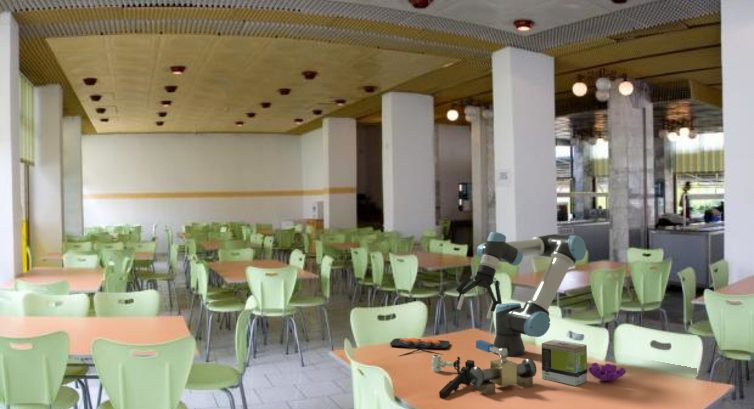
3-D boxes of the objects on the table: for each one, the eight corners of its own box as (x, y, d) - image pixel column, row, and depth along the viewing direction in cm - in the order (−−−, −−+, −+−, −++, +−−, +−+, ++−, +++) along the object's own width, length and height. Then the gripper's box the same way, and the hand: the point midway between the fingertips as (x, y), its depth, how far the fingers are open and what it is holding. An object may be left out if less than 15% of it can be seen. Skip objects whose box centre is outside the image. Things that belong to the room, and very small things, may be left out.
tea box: (587, 381, 238) (587, 344, 237) (575, 387, 231) (575, 348, 230) (553, 373, 248) (553, 338, 248) (540, 378, 241) (540, 342, 241)
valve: (430, 373, 250) (459, 374, 248) (430, 357, 250) (459, 359, 248) (432, 368, 257) (460, 370, 254) (432, 353, 256) (460, 354, 254)
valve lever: (509, 357, 229) (508, 349, 229) (502, 358, 228) (502, 350, 228) (481, 347, 245) (481, 339, 245) (475, 348, 243) (475, 340, 243)
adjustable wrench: (440, 409, 220) (469, 379, 240) (446, 411, 219) (476, 380, 239) (437, 388, 219) (467, 359, 239) (444, 390, 217) (474, 360, 237)
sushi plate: (450, 344, 301) (450, 336, 301) (443, 360, 272) (443, 351, 272) (394, 341, 308) (394, 334, 308) (381, 356, 279) (381, 348, 279)
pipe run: (523, 380, 239) (523, 350, 239) (537, 385, 232) (537, 355, 232) (468, 389, 228) (468, 359, 227) (481, 395, 220) (481, 364, 220)
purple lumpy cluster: (614, 384, 244) (629, 368, 240) (605, 394, 231) (621, 377, 228) (591, 364, 248) (606, 348, 245) (581, 373, 236) (596, 356, 233)
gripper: (459, 257, 261) (443, 303, 257) (513, 271, 248) (498, 320, 244) (464, 262, 267) (449, 307, 263) (517, 276, 255) (503, 323, 250)
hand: (473, 313), depth 253 cm, fingers open, 13 cm apart
